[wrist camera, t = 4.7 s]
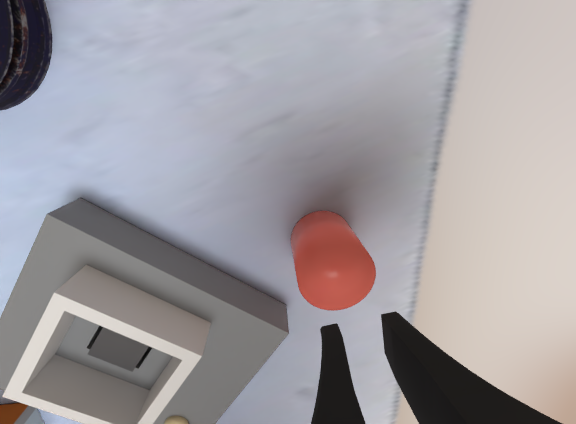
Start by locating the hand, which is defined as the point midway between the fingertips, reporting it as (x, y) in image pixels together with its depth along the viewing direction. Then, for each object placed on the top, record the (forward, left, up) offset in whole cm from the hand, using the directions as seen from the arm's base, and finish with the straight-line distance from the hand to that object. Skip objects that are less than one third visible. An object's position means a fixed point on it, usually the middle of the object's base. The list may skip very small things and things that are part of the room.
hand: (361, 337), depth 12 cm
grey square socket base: (+7, +13, -9) cm, 17 cm away
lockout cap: (0, 0, -10) cm, 10 cm away
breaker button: (+8, +12, -9) cm, 17 cm away
